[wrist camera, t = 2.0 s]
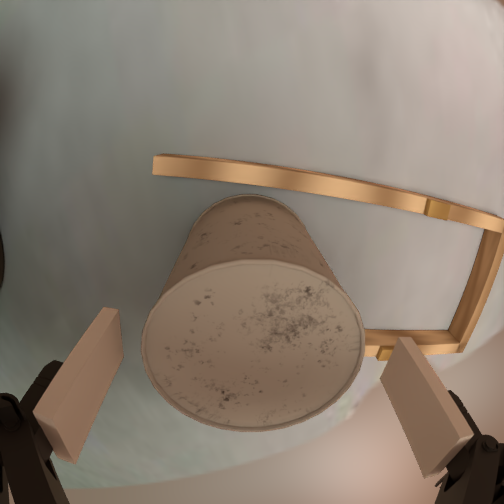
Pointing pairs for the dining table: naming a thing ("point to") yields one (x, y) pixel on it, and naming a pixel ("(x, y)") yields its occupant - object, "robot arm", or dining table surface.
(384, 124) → the dining table surface
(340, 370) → the speckled beige cylinder
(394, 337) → the beam frame
